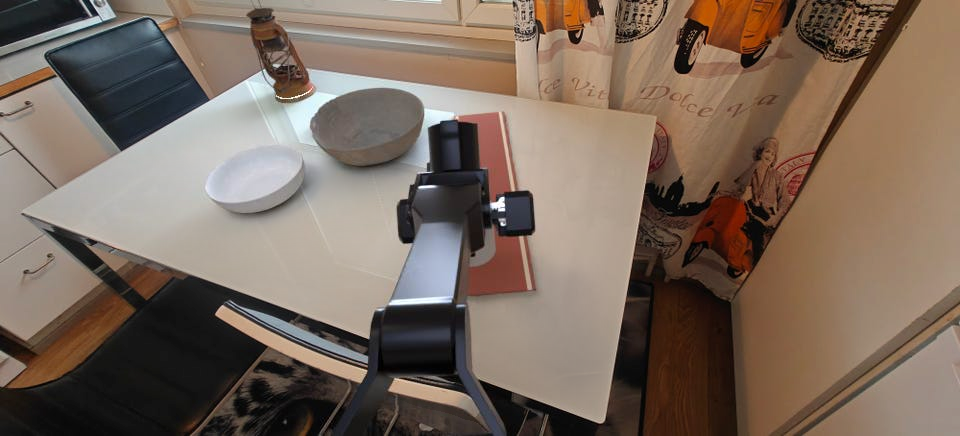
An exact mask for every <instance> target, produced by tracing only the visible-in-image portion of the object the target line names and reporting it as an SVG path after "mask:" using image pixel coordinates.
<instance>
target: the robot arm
mask: <svg viewBox="0 0 960 436" xmlns="http://www.w3.org/2000/svg"><path fill="white" fill-rule="evenodd" d="M427 136H428V137H427V138H428V153H429V154H428V155H429V162H426V171H425V172H416V174H415V179H414V183H413V184H409V187H408V188H409V189H408V194H407V198H401V199H399V201H398V202H397V204H396V220H397V236H398V237H397V238H398V239H399V241H400V242H401V243H402V244H403V245H407V244H411V246H410V248H409V249H410V250H408V254H407V256H406V259H405V261H404V264H403V267H402V269H401V272H400V274H399V277H398V279H397V280H396V281H397V282H396V284H395V286H394V289H393V292H392V294H391V297H390V299H389V302H388V303H387V305H386V306H383V307H381V306H380V307H377V308H376V309H375V311H374V312H373V315H372V318H371V321H370V327H369V335H368V353H367V355H368V356H367V369H366V370H367V371H366V374H365V375H364V377H363V379H362V380H361V382H360V384H359V386H358V388H357V389H356V391H355V392H354V394H353V396H352V398H351V399H350V402H349V403H348V405H347V406H346V408H345V409H344V411H343V413H342V415H341V418H339V420H338V422H337V424H336V425H335V427H334V429H333V431H332V432H331V434H330V436H364V435H365V434H366V433H367V430H368V428H369V427H370V425H371V423H372V421H373V419H374V417H375V415H376V413H377V412H378V410H379V408H380V406H381V404H382V403H383V401H384V399H385V397H386V396H387V394H388V392H389V390H390V388H391V386H392V385H393V383H394V381H395V379H406V378H408V379H409V378H426V377H445V376H446V377H447V376H457V375H458V377H459V379H460V381H461V382H462V384H463V385H464V387H465V389H466V391H467V393H468V394H469V396H470V398H471V400H472V402H473V403H474V405H475V407H476V409H477V410H478V412H479V414H480V416H481V417H482V419H483V421H484V423H485V425H486V426H487V428H488V430H489V431H490V432H478V433H477V432H476V433H475V432H474V433H456V434H455V433H453V434H441V435H440V436H508V435H507V429H506V426H505V424H504V422H503V420H502V418H501V416H500V414H499V413H498V412H497V410H496V408H495V406H494V405H493V403H492V401H491V399H490V398H489V396H488V394H487V392H486V391H485V389H484V388H483V386H482V384H481V383H480V381H479V379H478V378H477V376H476V373H475V372H474V371H473V351H472V326H471V315H470V308H469V304H468V302H467V301H468V296H467V292H468V280H469V268H470V257H475V256H476V251H478V250H480V249H482V248H483V247H484V246H485V229H492V220H491V219H493V224H494V226H495V228H496V231H497V233H498V236H499V237H501V236H507V237H517V236H526V237H530V236H533V234H534V233H535V232H536V218H535V217H536V215H535V204H534V194H533V193H532V192H531V191H530V190H529V189H526V190H518V191H510V192H504V194H496V202H495V203H491V202H490V185H489V170H488V168H481V165H480V150H479V135H478V124H477V123H469V122H459V121H458V119H455V120H454V119H444V120H443V119H442V120H439V123H435V124H432V125H430V126H427ZM491 208H492V209H493V212H491Z"/></svg>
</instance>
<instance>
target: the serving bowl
mask: <svg viewBox="0 0 960 436" xmlns="http://www.w3.org/2000/svg"><path fill="white" fill-rule="evenodd" d="M305 173H306V166H305V162H304V158H303V155H302V153H301V151H299V150H298V149H297V148H295V147H293V146H291V145H286V144H281V143H280V144H278V143H270V144H263V145H258V146H253V147H250V148H247V149H244V150H241V151H239V152H237V153H235V154H233V155H231V156H229V157H227V158H226V159H224V160H223V161H221V162H220V163H219V164H218V165H216V166H215V167H214V168H213V169H212V170H211V171H210V173H209V174H208V175H207V177H206V179H205V182H204V192H205V194H206V195H207V197H208V198H209V199H210V200H211V201H212V202H213V203H214V204H216V205H217V206H219V207H221V208H222V209H225V210H227V211H229V212H234V213H240V214H241V213H242V214H250V213H251V214H252V213H258V212H263V211H267V210H269V209H272V208H274V207H276V206H278V205H281V204H282V203H284V202H286V201H287V200H289V198H291V197H292V196H293V195H294V194H295V193H296V192H297V191H298V190H299V188H300V186H301V185H302V183H303V181H304V178H305Z"/></svg>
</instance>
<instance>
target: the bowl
mask: <svg viewBox="0 0 960 436" xmlns="http://www.w3.org/2000/svg"><path fill="white" fill-rule="evenodd" d="M424 119H425V106H424V103H423V101H422V100H421V99H420V98H419V97H418V96H417V95H415V94H413V93H412V92H409V91H407V90H403V89H399V88H391V87H372V88H371V87H370V88H362V89H357V90H353V91H349V92H347V93H344V94H341V95H339V96H336V97H334V98H332V99H329V100H328V101H326V102H325V103H323V104H322V105H321V106H320V107H319V108H318V109H317V112H315V113H314V115H313V116H312V117H311V118H310V122H309V129H310V131H311V134H312V139H313V140H314V142H315V143H316V144H317V146H318V147H319V148H320V149H321V150H322V151H323V152H325V153H326V154H327V155H329V156H330V157H332V158H333V159H335V160H337V161H339V162H342V163H343V164H347V165H350V166H356V167H357V166H361V167H364V166H371V165H378V164H381V163H386V162H389V161H392V160H394V159H397V158H398V157H400V156H403V154H405V153H406V152H408V151H409V150H410V149H412V147H413V146H414V145H415V143H416V142H417V141H418V139H419V137H420V135H421V132H422V129H423V125H424Z"/></svg>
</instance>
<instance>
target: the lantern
mask: <svg viewBox="0 0 960 436" xmlns="http://www.w3.org/2000/svg"><path fill="white" fill-rule="evenodd" d="M250 2H251V4H252V6H253V10H250V11H249V12H247V13H246V15H245V16H246V17H247V18H249V19H250V26H249V27H250V29H249V35H250V37H251V41H252V45H253V47H254V49H255V51H256V55H257V59H258V61H259V66H260V71H261V75H262V76H263V78H264V80H265V81H266V83H267V84H268V85H269V86H270V87H271V88H272V89H273V91H274V93H275V94H274V99H275V101H277V102H279V103H283V104H286V103H287V104H290V103H297V102H301V101H304V100H306V99H308V98H309V97H311V96H313V94H315V92H316V91H317V87H316V86H315V85H314V84H313V83H312V82H311V79H310V75H309V72H308V70H307V68H306V66H305V64H304V63H303V60H302V58H301V56H300V55H299V53H298V50H297V48H296V47H295V45H294V43H293V42H292V40H291V38H290V36H289V33H288V31H287V30H285V28H284V27H283V26H282V25H280V23H279V22H278V20H277V17H276V16H275V15H273V13H274V8H271V7H262V5H261V2H260V0H258V4H259V7H260V8H256V7H255V5H254V4H253V1H252V0H250ZM286 48H287V50H286ZM276 52H283V54H282V55H280V56H279V57H278V58H277V59H274V58H273V57H272V56H273V54H274V53H276ZM269 53H270V56H269V55H268V54H269ZM291 56H292V58H293V60H294V61H295V63H296V65H295V64H290V63H289V62H290V61H289V58H290V57H291ZM284 57H286V58H285V59H284V61H283V62H281V64H280V65H278V67H276V66H274V65H275V64H276V63H277V62H278V61H280V60H282V59H283V58H284ZM286 62H287V63H286ZM285 63H286V65H284V64H285ZM262 66H263V67H262ZM263 68H264V69H265V72H266V74H267V75H268V76H269V77H270V78H272V80H274V83H273V85H272V84H271V83H270V82H269V81H268V79H267V77H266V76H265V73H264V70H263ZM312 86H313V88H312ZM311 88H312V90H311V91H310V92H309V93H307V94H305V95H303V96H300V97H298V98H293V99H280V98H278V97H276V95H277V96H279V97H282V98H291V97H295V96H298V95H302V94H304V93H306V92H308V91H309V90H310V89H311Z"/></svg>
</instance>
